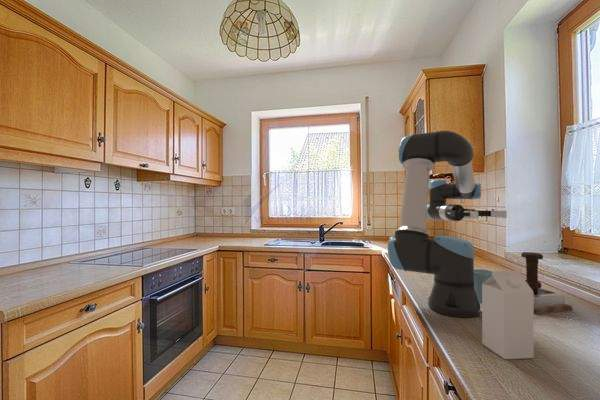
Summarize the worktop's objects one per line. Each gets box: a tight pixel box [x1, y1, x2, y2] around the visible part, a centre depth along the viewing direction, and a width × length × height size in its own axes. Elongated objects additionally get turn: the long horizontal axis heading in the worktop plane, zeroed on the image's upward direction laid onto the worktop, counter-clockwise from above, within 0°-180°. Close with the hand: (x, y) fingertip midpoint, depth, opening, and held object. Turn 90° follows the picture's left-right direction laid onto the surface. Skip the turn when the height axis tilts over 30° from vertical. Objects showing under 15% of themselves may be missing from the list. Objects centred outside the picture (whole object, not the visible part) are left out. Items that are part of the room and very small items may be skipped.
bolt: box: [521, 251, 544, 295], centre depth 100 cm, size 6×5×15 cm
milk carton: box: [481, 269, 535, 360], centre depth 69 cm, size 7×7×19 cm
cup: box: [474, 268, 493, 304], centre depth 104 cm, size 8×8×10 cm
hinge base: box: [534, 287, 573, 315], centre depth 100 cm, size 15×14×5 cm
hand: (492, 214), depth 116 cm, fingers open, 13 cm apart
